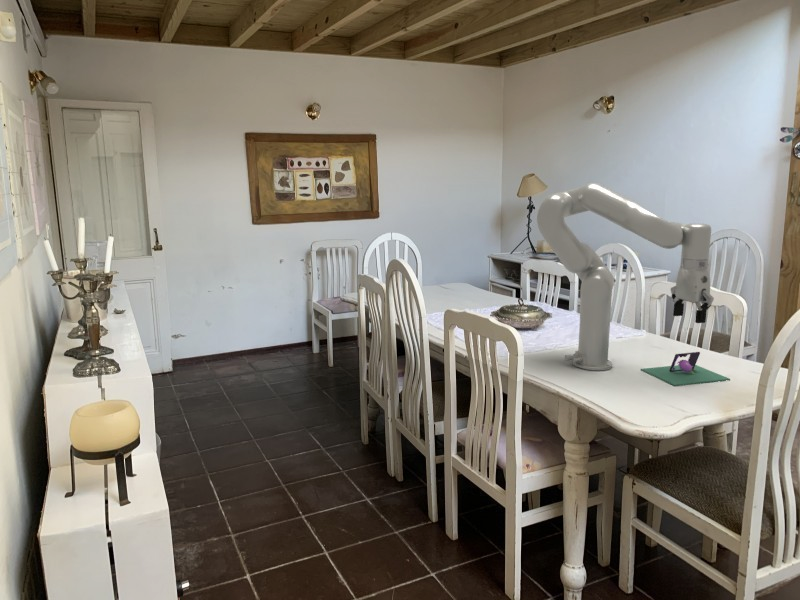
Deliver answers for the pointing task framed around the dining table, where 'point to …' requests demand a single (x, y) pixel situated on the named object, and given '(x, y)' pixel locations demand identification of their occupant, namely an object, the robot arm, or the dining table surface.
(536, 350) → the dining table surface
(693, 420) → the dining table surface
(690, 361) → the black open frame
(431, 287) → the dining table surface
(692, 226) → the robot arm
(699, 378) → the mat
